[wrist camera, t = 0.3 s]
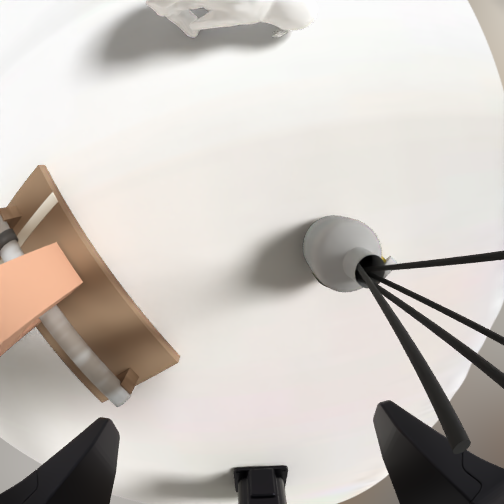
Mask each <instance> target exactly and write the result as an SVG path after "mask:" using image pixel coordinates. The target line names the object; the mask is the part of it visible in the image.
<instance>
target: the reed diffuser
mask: <svg viewBox="0 0 504 504" xmlns="http://www.w3.org/2000/svg"><path fill="white" fill-rule="evenodd" d="M303 253H304V257H305V260H306V262H307V263H308V265H309V267H310V268H311V270H312V271H313V272H314V273H313V275H314V276H315V278H316V279H317V280H318V282H319V283H321V284H322V285H324V286H326V287H328V288H330V289H333V290H335V291H339V292H352V291H356V290H359V289H361V288H363V287H364V288H369V289H370V291H371V292H372V294H373V296H374V297H375V299H376V301H377V302H378V304H379V306H380V307H381V309H382V311H383V313H384V314H385V316H386V318H387V319H388V321H389V323H390V325H391V326H392V328H393V330H394V332H395V334H396V335H397V337H398V339H399V341H400V343H401V344H402V346H403V348H404V350H405V352H406V354H407V356H408V357H409V359H410V361H411V363H412V365H413V367H414V369H415V371H416V373H417V375H418V377H419V379H420V381H421V383H422V385H423V387H424V389H425V391H426V393H427V395H428V397H429V399H430V401H431V403H432V406H433V408H434V410H435V412H436V414H437V416H438V419H439V421H440V423H441V425H442V428H443V430H444V432H445V434H446V437H447V439H448V442H449V444H450V446H451V449H452V451H453V453H454V454H460V453H462V452H464V451H465V450H466V449H467V448H468V447H469V446H470V443H471V442H470V440H469V438H468V436H467V434H466V432H465V430H464V428H463V426H462V424H461V422H460V420H459V418H458V416H457V415H456V413H455V411H454V409H453V407H452V406H451V404H450V402H449V400H448V398H447V396H446V395H445V393H444V391H443V389H442V388H441V386H440V384H439V382H438V381H437V379H436V377H435V376H434V374H433V372H432V371H431V369H430V367H429V366H428V364H427V362H426V361H425V359H424V358H423V356H422V354H421V353H420V351H419V350H418V348H417V346H416V345H415V343H414V342H413V340H412V339H411V337H410V335H409V334H408V332H407V331H406V329H405V328H404V326H403V325H402V323H401V322H400V320H399V319H398V317H397V316H396V314H395V313H394V312H393V310H392V309H391V307H390V306H389V304H388V303H387V301H386V300H385V299H384V297H383V296H382V295H384V296H385V297H386V298H388V299H389V300H391V301H392V302H393V303H395V304H396V305H397V306H399V307H400V308H401V309H403V310H404V311H405V312H407V313H408V314H410V315H411V316H412V317H414V318H415V319H416V320H418V321H419V322H420V323H422V324H423V325H424V326H426V327H427V328H428V329H429V330H431V331H432V332H433V333H435V334H436V335H437V336H439V337H440V338H441V339H443V340H444V341H445V342H446V343H448V344H449V345H450V346H452V347H453V348H454V349H455V350H457V351H458V352H459V353H460V354H462V355H463V356H464V357H466V358H467V359H468V360H469V361H471V362H472V363H473V364H474V365H476V366H477V367H478V368H479V369H481V370H482V371H483V372H484V373H486V374H487V375H488V376H489V377H490V378H492V379H493V380H494V381H495V382H496V383H498V384H499V385H500V386H501V387H502V388H503V389H504V373H502V372H501V371H500V370H498V369H497V368H496V367H494V366H493V365H492V364H490V363H489V362H488V361H486V360H485V359H484V358H482V357H481V356H480V355H478V354H477V353H476V352H474V351H473V350H472V349H470V348H469V347H468V346H466V345H465V344H463V343H462V342H461V341H459V340H458V339H456V338H455V337H454V336H452V335H451V334H449V333H448V332H447V331H445V330H444V329H442V328H441V327H440V326H438V325H437V324H435V323H434V322H432V321H431V320H430V319H428V318H427V317H425V316H424V315H422V314H421V313H419V312H418V311H416V310H415V309H414V308H412V307H411V306H409V305H408V304H406V303H405V302H403V301H402V300H400V299H399V298H397V297H396V296H394V295H393V294H391V293H390V292H388V291H387V290H385V289H384V288H382V287H381V286H379V285H378V284H379V283H380V282H381V283H383V284H385V285H388V286H390V287H392V288H394V289H396V290H398V291H400V292H402V293H404V294H406V295H408V296H410V297H412V298H414V299H416V300H418V301H420V302H422V303H424V304H426V305H428V306H430V307H432V308H434V309H436V310H438V311H440V312H442V313H443V314H445V315H447V316H449V317H451V318H453V319H455V320H457V321H459V322H461V323H463V324H465V325H467V326H469V327H470V328H472V329H474V330H476V331H478V332H480V333H482V334H484V335H486V336H487V337H489V338H491V339H493V340H495V341H497V342H499V343H500V344H503V345H504V337H502V336H500V335H499V334H497V333H495V332H493V331H491V330H489V329H487V328H485V327H483V326H481V325H479V324H477V323H475V322H473V321H471V320H469V319H467V318H465V317H463V316H461V315H459V314H457V313H455V312H453V311H451V310H449V309H447V308H445V307H443V306H441V305H439V304H437V303H435V302H433V301H431V300H429V299H427V298H425V297H423V296H421V295H418V294H416V293H414V292H412V291H410V290H408V289H406V288H404V287H402V286H400V285H397V284H395V283H393V282H391V281H389V280H387V279H385V277H386V276H387V275H388V274H389V273H390V272H391V271H392V270H399V269H411V268H423V267H434V266H445V265H456V264H466V263H476V262H485V261H494V260H503V259H504V251H498V252H491V253H484V254H476V255H469V256H461V257H453V258H445V259H436V260H428V261H419V262H411V263H402V264H397V262H396V261H395V260H394V259H393V258H392V257H391V256H390V257H388V258H387V259H386V260H385V259H384V258H383V257H382V250H381V245H380V241H379V239H378V237H377V235H376V234H375V233H374V231H373V230H372V229H371V228H370V227H369V226H368V225H366V224H364V223H363V222H361V221H359V220H355V219H351V218H347V217H342V216H332V215H331V216H326V217H323V218H321V219H319V220H317V221H316V222H315V223H314V224H312V225H311V227H310V228H309V229H308V231H307V233H306V235H305V237H304V242H303Z"/></svg>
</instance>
